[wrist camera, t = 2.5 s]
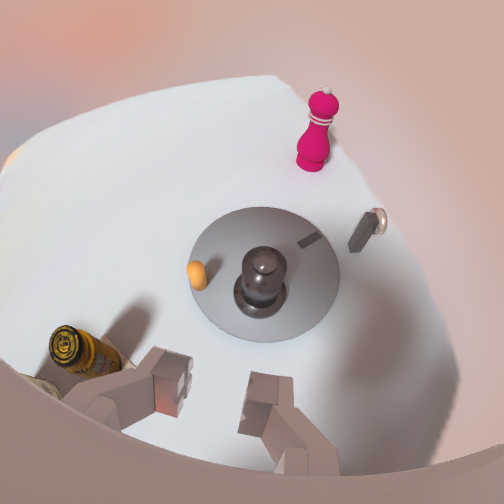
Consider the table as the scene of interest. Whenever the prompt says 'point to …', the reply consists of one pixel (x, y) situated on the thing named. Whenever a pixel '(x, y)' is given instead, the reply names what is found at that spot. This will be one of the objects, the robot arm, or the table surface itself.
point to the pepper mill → (317, 131)
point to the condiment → (86, 353)
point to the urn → (261, 283)
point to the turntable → (296, 279)
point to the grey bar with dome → (368, 229)
